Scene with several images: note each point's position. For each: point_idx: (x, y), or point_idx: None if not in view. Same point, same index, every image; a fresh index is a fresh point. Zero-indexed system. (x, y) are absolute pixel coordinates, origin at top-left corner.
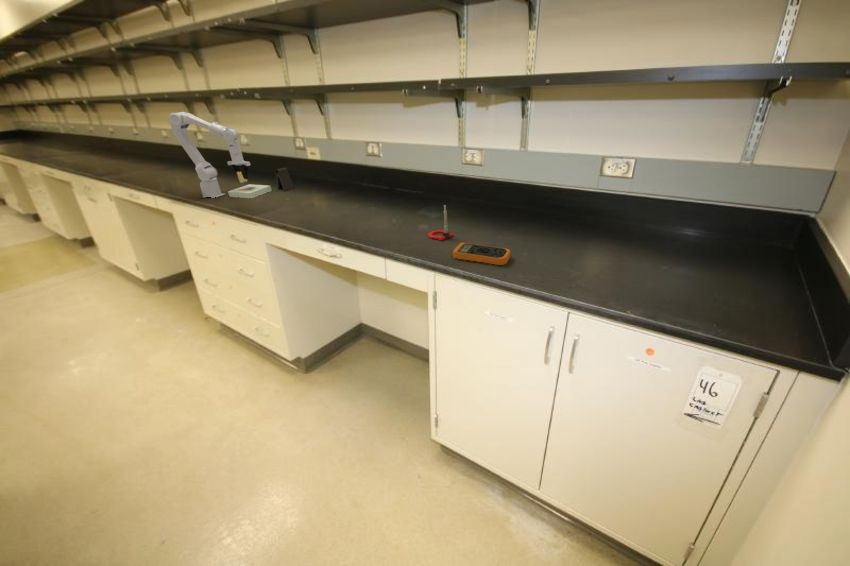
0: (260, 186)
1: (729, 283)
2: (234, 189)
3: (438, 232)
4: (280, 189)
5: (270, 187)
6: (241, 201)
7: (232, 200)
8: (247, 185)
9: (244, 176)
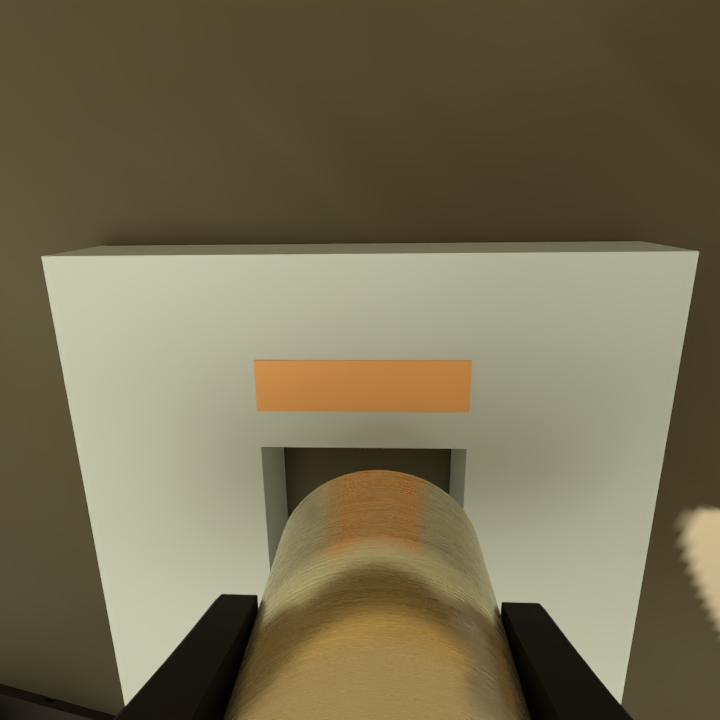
0: None
1: None
2: (654, 419)
3: None
4: (72, 716)
5: None
6: (122, 33)
7: (370, 39)
8: None
9: (165, 667)
